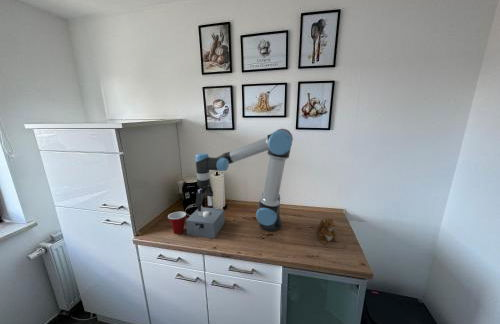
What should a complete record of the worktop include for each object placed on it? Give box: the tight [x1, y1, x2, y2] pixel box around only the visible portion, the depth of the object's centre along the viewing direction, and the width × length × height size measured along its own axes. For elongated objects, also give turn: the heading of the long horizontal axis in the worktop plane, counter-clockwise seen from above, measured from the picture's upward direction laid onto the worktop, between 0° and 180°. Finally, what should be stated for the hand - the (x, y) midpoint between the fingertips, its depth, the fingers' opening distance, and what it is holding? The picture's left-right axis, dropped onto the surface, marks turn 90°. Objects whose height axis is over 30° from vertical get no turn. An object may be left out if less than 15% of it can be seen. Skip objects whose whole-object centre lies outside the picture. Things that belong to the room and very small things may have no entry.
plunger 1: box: [195, 224, 203, 231], centre depth 121 cm, size 4×9×2 cm, turn 167°
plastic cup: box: [167, 211, 187, 235], centre depth 126 cm, size 11×11×12 cm
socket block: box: [185, 206, 226, 239], centre depth 129 cm, size 18×18×10 cm
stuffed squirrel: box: [316, 218, 338, 245], centre depth 118 cm, size 10×14×13 cm
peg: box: [203, 211, 210, 217], centre depth 130 cm, size 4×4×11 cm
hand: (205, 210), depth 127 cm, fingers open, 13 cm apart
